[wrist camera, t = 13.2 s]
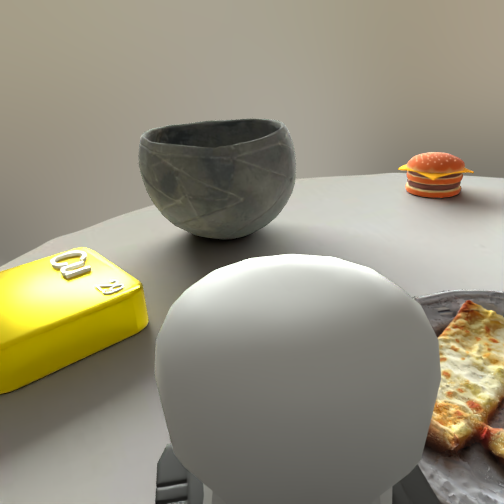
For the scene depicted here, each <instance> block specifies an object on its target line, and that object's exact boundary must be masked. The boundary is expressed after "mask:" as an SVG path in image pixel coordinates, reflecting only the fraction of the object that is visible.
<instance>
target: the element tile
mask: <svg viewBox="0 0 504 504" xmlns="http://www.w3.org/2000/svg"><path fill="white" fill-rule="evenodd" d="M148 321H149V319H148V313H147V307H146V302H145V296H144V290H143V285H142V283H141V282H140V281H138V280H137V279H135V278H134V277H132V276H131V275H129V274H128V273H126V272H125V271H123V270H122V269H120V268H119V267H117V266H116V265H114V264H113V263H111V262H110V261H108V260H107V259H105V258H104V257H102V256H101V255H99V254H98V253H96V252H95V251H93V250H91V249H87V248H83V247H81V248H76V249H72V250H69V251H66V252H63V253H59V254H56V255H53V256H50V257H46V258H43V259H40V260H37V261H33V262H30V263H27V264H24V265H20V266H17V267H14V268H11V269H7V270H4V271H1V272H0V394H3V393H7V392H11V391H13V390H16V389H19V388H21V387H23V386H25V385H27V384H29V383H31V382H34V381H36V380H38V379H40V378H42V377H44V376H46V375H49V374H51V373H53V372H55V371H57V370H59V369H62V368H64V367H66V366H68V365H70V364H72V363H74V362H77V361H79V360H81V359H83V358H85V357H87V356H89V355H92V354H94V353H96V352H98V351H100V350H102V349H105V348H107V347H109V346H111V345H113V344H115V343H117V342H120V341H122V340H124V339H126V338H128V337H130V336H132V335H135V334H137V333H138V332H140V331H141V330H142V329H144V328H145V327H146V326H147V324H148Z"/></svg>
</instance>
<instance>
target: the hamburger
mask: <svg viewBox="0 0 504 504" xmlns="http://www.w3.org/2000/svg"><path fill="white" fill-rule="evenodd" d="M464 167H465V164H464V162H463V161H462V160H461V159H460V158H458V157H455V156H453V155H450V154H447V153H440V152H430V153H424V154H420V155H417V156H415V157H413V158H412V159H411V160H410V161H409V162H408V163H407V165H404V166H402V167H400V168H398V169H399V170H406V171H407V178H408V179H407V183H406V186H405V187H406V190H407V192H409V193H411V194H413V195H417V196H421V197H429V198H445V197H452V196H455V195H458V194H459V192H460V191H461V186H460V183H461V180H462V178H463V174H462V173H465V172H470V173H474V172H473V171H471V170H468V169H466V168H464Z"/></svg>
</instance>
